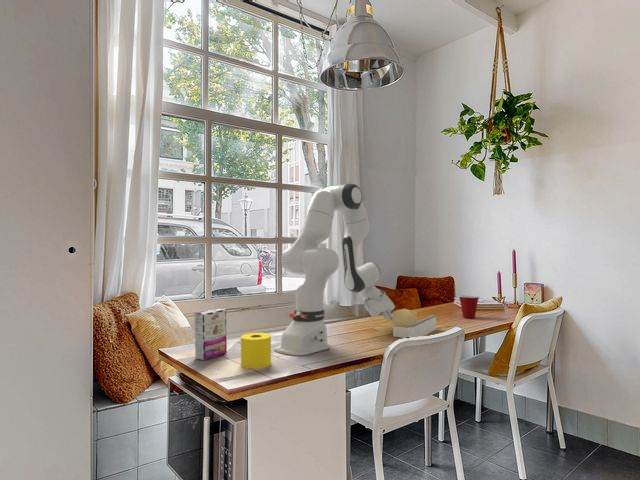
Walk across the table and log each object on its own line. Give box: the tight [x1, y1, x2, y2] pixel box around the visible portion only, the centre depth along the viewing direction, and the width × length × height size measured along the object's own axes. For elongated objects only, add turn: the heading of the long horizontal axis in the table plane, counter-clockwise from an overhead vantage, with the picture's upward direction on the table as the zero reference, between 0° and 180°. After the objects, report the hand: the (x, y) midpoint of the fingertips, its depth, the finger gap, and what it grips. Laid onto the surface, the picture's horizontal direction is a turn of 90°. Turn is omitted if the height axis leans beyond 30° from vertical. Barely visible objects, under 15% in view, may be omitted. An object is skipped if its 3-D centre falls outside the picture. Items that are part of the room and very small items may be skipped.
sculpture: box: [391, 308, 419, 329], centre depth 187 cm, size 11×12×11 cm
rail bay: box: [392, 314, 437, 339], centre depth 185 cm, size 28×11×7 cm, turn 146°
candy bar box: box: [194, 308, 228, 361], centre depth 150 cm, size 11×5×16 cm, turn 148°
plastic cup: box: [458, 294, 480, 320], centre depth 222 cm, size 11×11×12 cm
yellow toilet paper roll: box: [240, 332, 272, 370], centre depth 141 cm, size 10×10×9 cm
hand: (391, 320), depth 191 cm, fingers closed
